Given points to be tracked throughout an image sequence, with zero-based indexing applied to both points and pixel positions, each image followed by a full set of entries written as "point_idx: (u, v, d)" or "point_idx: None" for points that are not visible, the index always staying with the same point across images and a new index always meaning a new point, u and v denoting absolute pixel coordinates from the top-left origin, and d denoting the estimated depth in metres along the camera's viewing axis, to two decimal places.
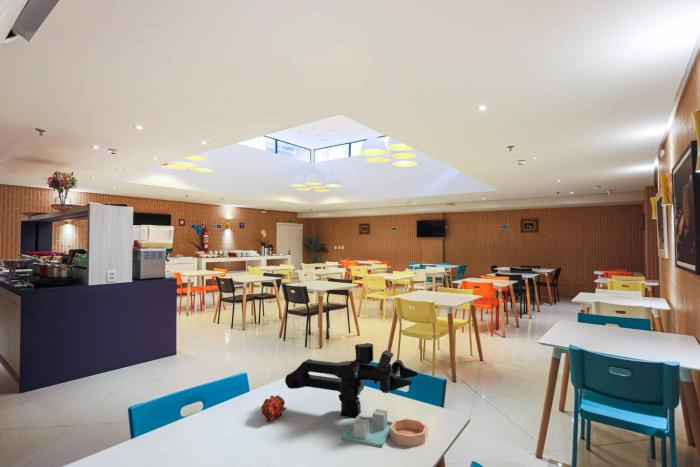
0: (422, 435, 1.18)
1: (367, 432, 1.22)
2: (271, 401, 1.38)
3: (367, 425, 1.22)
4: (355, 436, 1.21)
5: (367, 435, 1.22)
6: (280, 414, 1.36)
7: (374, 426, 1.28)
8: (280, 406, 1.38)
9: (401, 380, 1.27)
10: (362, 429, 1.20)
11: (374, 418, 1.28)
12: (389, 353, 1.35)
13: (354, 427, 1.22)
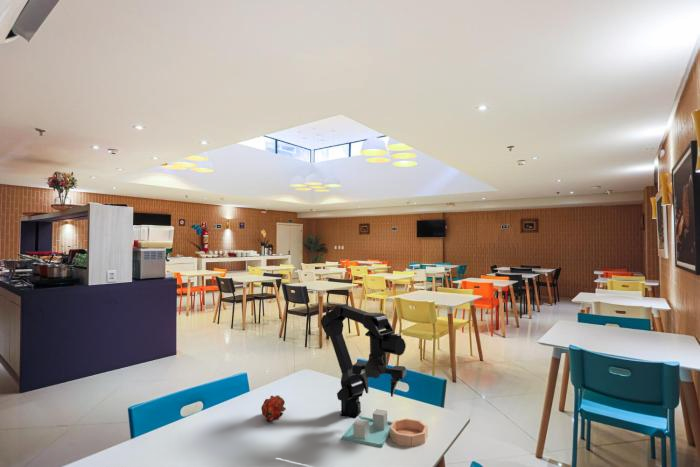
0: (422, 435, 1.18)
1: (367, 432, 1.22)
2: (271, 401, 1.38)
3: (367, 425, 1.22)
4: (355, 436, 1.21)
5: (367, 435, 1.22)
6: (280, 414, 1.36)
7: (374, 426, 1.28)
8: (280, 406, 1.38)
9: None
10: (362, 429, 1.20)
11: (374, 418, 1.28)
12: (371, 375, 1.23)
13: (354, 427, 1.22)
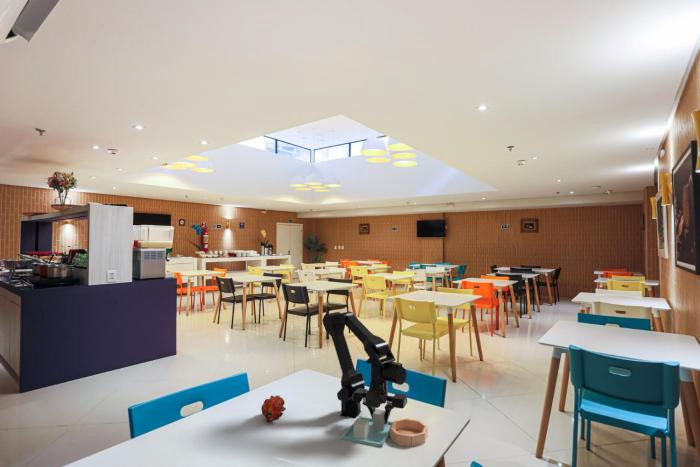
0: (422, 435, 1.18)
1: (367, 432, 1.22)
2: (271, 401, 1.38)
3: (367, 425, 1.22)
4: (355, 436, 1.21)
5: (367, 435, 1.22)
6: (280, 414, 1.36)
7: (374, 426, 1.28)
8: (280, 406, 1.38)
9: None
10: (362, 429, 1.20)
11: (374, 418, 1.28)
12: (372, 404, 1.23)
13: (354, 427, 1.22)
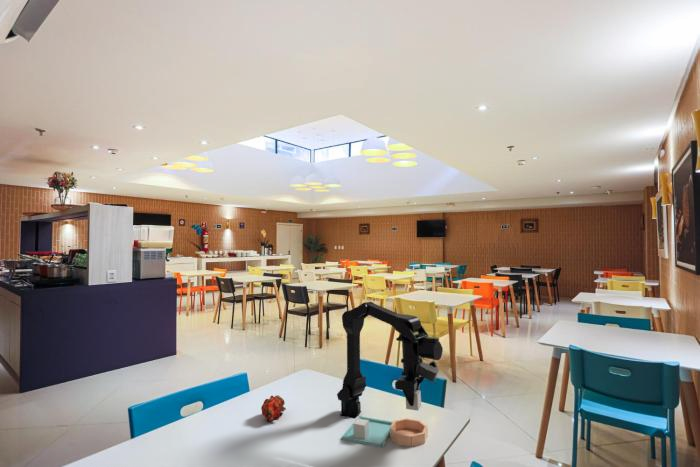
0: (422, 435, 1.18)
1: (367, 432, 1.22)
2: (271, 401, 1.38)
3: (367, 425, 1.22)
4: (355, 436, 1.21)
5: (367, 435, 1.22)
6: (280, 414, 1.36)
7: (418, 407, 1.20)
8: (280, 406, 1.38)
9: (412, 396, 1.19)
10: (362, 429, 1.20)
11: (418, 398, 1.20)
12: (435, 377, 1.19)
13: (354, 427, 1.22)
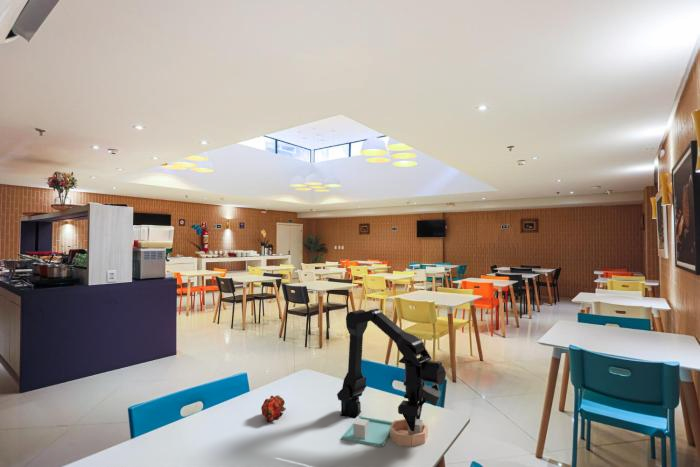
0: (422, 435, 1.18)
1: (367, 432, 1.22)
2: (271, 401, 1.38)
3: (367, 425, 1.22)
4: (355, 436, 1.21)
5: (367, 435, 1.22)
6: (280, 414, 1.36)
7: None
8: (280, 406, 1.38)
9: (413, 422, 1.17)
10: (362, 429, 1.20)
11: (420, 429, 1.20)
12: (438, 400, 1.19)
13: (354, 427, 1.22)
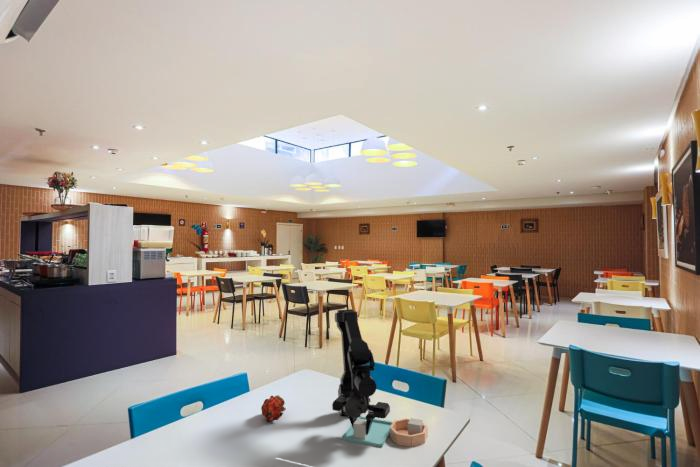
0: (422, 435, 1.18)
1: None
2: (271, 401, 1.38)
3: None
4: (355, 436, 1.21)
5: (367, 435, 1.22)
6: (280, 414, 1.36)
7: None
8: (280, 406, 1.38)
9: None
10: (362, 429, 1.20)
11: (420, 429, 1.20)
12: (351, 414, 1.16)
13: (354, 427, 1.22)
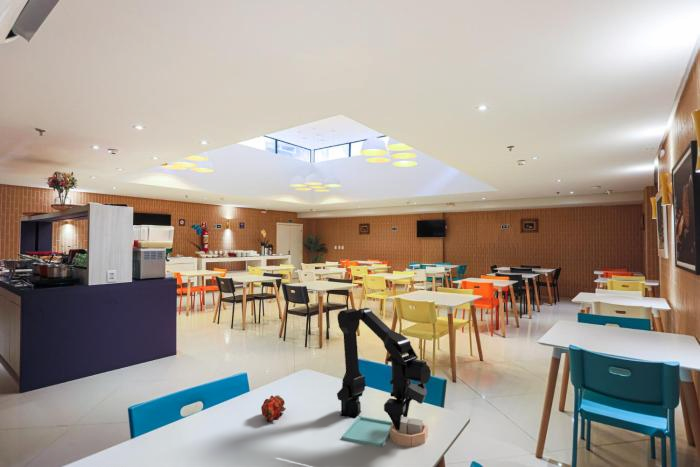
0: (422, 435, 1.18)
1: None
2: (271, 401, 1.38)
3: None
4: (407, 434, 1.21)
5: None
6: (280, 414, 1.36)
7: None
8: (280, 406, 1.38)
9: (398, 421, 1.18)
10: None
11: (420, 429, 1.20)
12: (424, 398, 1.21)
13: (406, 426, 1.21)
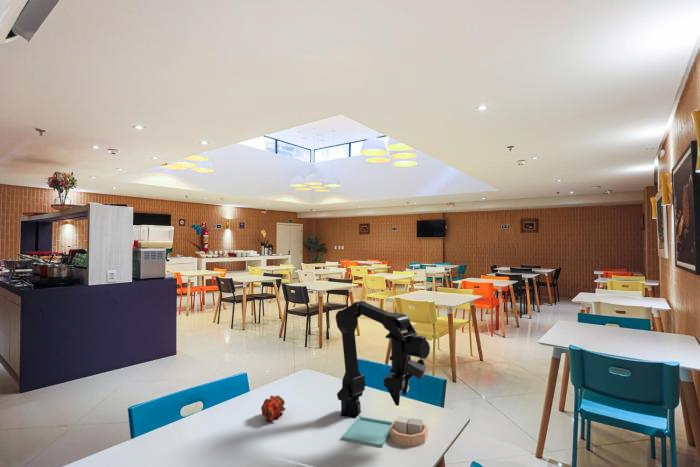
0: (422, 435, 1.18)
1: None
2: (271, 401, 1.38)
3: None
4: (407, 434, 1.21)
5: None
6: (280, 414, 1.36)
7: None
8: (280, 406, 1.38)
9: (398, 396, 1.18)
10: None
11: (420, 429, 1.20)
12: (423, 374, 1.21)
13: (406, 426, 1.21)
